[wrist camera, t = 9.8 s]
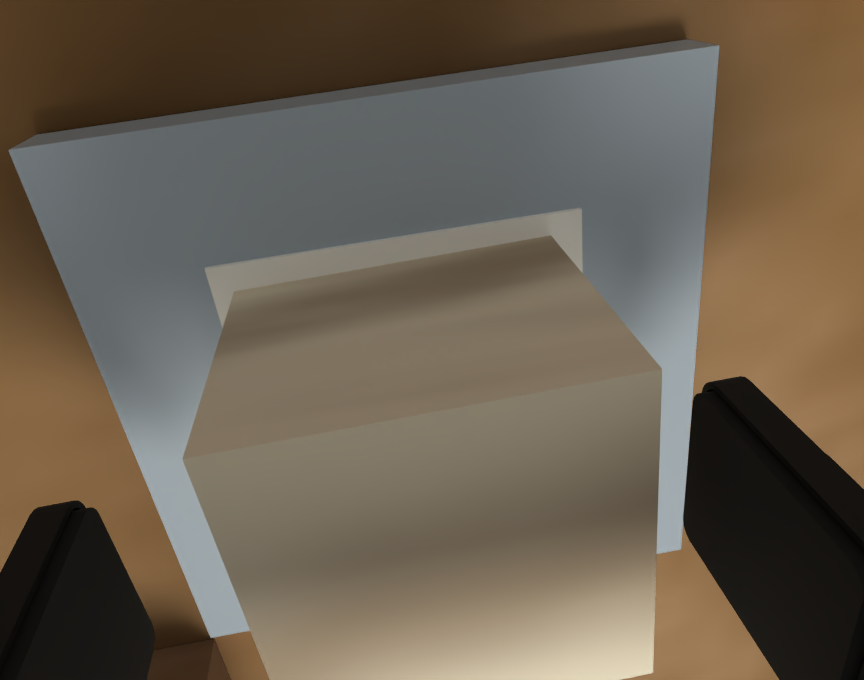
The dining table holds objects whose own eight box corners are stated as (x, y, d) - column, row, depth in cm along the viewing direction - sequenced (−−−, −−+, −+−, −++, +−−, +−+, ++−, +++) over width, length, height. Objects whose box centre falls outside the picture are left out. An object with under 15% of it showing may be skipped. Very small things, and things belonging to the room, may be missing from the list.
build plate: (35, 134, 12) (5, 151, 11) (687, 39, 13) (722, 45, 12) (217, 599, 18) (209, 641, 17) (661, 516, 19) (682, 552, 18)
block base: (233, 291, 13) (181, 459, 8) (550, 234, 13) (662, 368, 9) (306, 529, 16) (296, 747, 11) (564, 479, 16) (652, 672, 11)
